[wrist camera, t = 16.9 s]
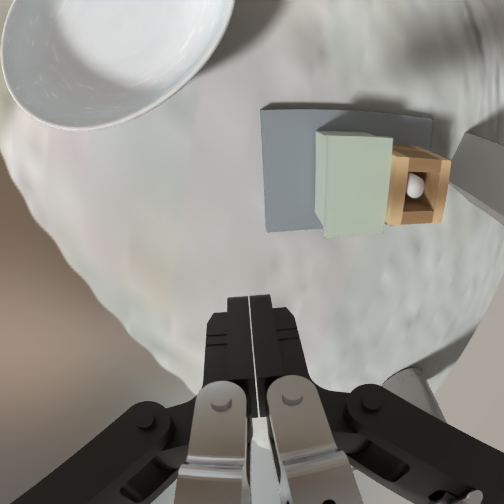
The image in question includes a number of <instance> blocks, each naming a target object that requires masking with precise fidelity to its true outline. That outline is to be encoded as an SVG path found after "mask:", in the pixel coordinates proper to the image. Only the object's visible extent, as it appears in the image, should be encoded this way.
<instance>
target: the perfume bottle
mask: <svg viewBox="0 0 504 504" xmlns="http://www.w3.org/2000/svg"><path fill="white" fill-rule="evenodd" d="M448 183H449V184H450V185H452V186H453V187H454V188H455V189H456V190H457V191H459V192H460V193H461V194H462V195H463V196H464V197H465V198H467V199H468V200H469V201H470V202H471V203H473V204H474V205H476V206H477V207H479V208H480V209H482V210H483V211H485V212H486V213H487V214H489V215H490V216H492V217H493V218H494V219H496V220H497V221H499V222H500V223H501V224H503V225H504V146H502V145H500V144H497V143H495V142H492V141H489V140H487V139H484V138H481V137H478V136H475V135H473V134H470V133H467V132H465V134H464V136H463V138H462V140H461V142H460V144H459V146H458V149H457V151H456V153H455V155H454V157H453V159H452V161H451V168H450V176H449V182H448Z"/></svg>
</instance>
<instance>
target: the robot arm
mask: <svg viewBox="0 0 504 504" xmlns="http://www.w3.org/2000/svg"><path fill="white" fill-rule="evenodd" d="M250 308H251V322H252V334H253V346H254V357H255V368H256V379H257V389H258V400H259V410H260V417H267V426H268V439H269V444H270V449H271V454H272V459H273V463H274V468H275V473H276V477H277V482H278V488H279V496H280V501H281V504H363V501H362V498H361V495H360V492H359V489H358V486H357V483H356V480H355V477H354V474H353V472H352V469H351V466H350V465H352V466H353V467H355V468H356V469H358V470H359V471H361V472H362V473H364V474H366V475H367V476H368V477H370V478H372V479H373V480H375V481H376V482H378V483H380V484H381V485H383V486H385V487H386V488H388V489H390V490H391V491H393V492H395V493H397V494H398V495H400V496H402V497H403V498H405V499H407V500H409V501H411V502H412V503H414V504H504V453H503V452H501V451H499V450H497V449H495V448H493V447H491V446H489V445H487V444H485V443H483V442H481V441H479V440H477V439H475V438H473V437H471V436H469V435H468V434H466V433H464V432H462V431H460V430H458V429H456V428H454V427H453V426H451V425H449V424H447V422H446V420H445V418H444V416H443V414H442V412H441V409H440V407H439V405H438V403H437V401H436V399H435V397H434V395H433V393H432V391H431V389H430V387H429V384H428V383H427V381H426V379H425V377H424V375H423V373H422V371H421V369H420V368H417V367H412V368H408V369H405V370H403V371H400V372H398V373H397V374H395V375H393V376H392V377H390V378H389V379H388V380H387V381H386V382H385V383H384V384H383V386H379V385H376V384H364V385H361V386H358V387H357V388H355V389H354V390H353V391H352V392H351V393H344V392H335V391H329V390H326V389H323V388H321V387H319V386H318V385H316V384H315V383H314V382H313V381H312V379H311V378H310V376H309V373H308V370H307V366H306V362H305V358H304V353H303V349H302V345H301V341H300V339H299V333H298V330H297V325H296V322H295V318H294V316H293V315H292V313H291V312H290V311H289V310H288V309H287V308H286V307H283V308H272V303H271V297H270V294H267V295H255V296H250ZM257 417H258V411H257V399H256V387H255V375H254V364H253V352H252V340H251V329H250V317H249V305H248V296H244V297H230V298H228V299H227V312H222V313H214V314H213V315H212V317H211V318H210V320H209V321H208V323H207V333H206V347H205V362H204V379H203V386H202V388H201V390H200V391H199V393H198V394H197V396H196V397H194V398H193V399H192V400H190V401H189V402H186V403H183V404H180V405H177V406H174V407H170V408H164V407H163V406H162V405H160V404H158V403H156V402H152V401H144V402H140V403H137V404H135V405H133V406H132V407H130V408H129V409H128V410H127V411H126V412H125V413H123V414H122V415H121V416H120V417H119V418H118V419H116V420H115V421H114V422H113V423H112V424H110V425H109V426H108V427H107V428H106V429H104V430H103V431H102V432H101V433H100V434H98V435H97V436H96V437H95V438H94V439H93V440H91V441H90V442H89V443H88V444H86V445H85V446H84V447H83V448H81V449H80V450H79V451H78V452H77V453H76V454H74V455H73V456H72V457H70V458H69V459H68V460H67V461H65V462H64V463H63V464H62V465H60V466H59V467H58V468H57V469H55V470H54V471H53V472H51V473H50V474H49V475H48V476H46V477H45V478H44V479H42V480H41V481H40V482H39V483H37V484H36V485H35V486H33V487H32V488H31V489H29V490H28V491H27V492H25V493H24V494H23V495H21V496H20V497H19V498H17V499H16V500H15V501H13V502H12V503H11V504H150V503H151V502H152V501H154V500H155V499H156V498H157V497H158V496H159V495H160V494H161V493H162V492H163V491H164V490H165V489H166V488H168V487H169V486H170V485H171V484H172V483H173V482H174V481H175V480H176V479H177V484H176V491H175V498H174V504H252V495H251V462H252V461H251V459H252V437H253V425H252V418H257Z"/></svg>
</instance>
